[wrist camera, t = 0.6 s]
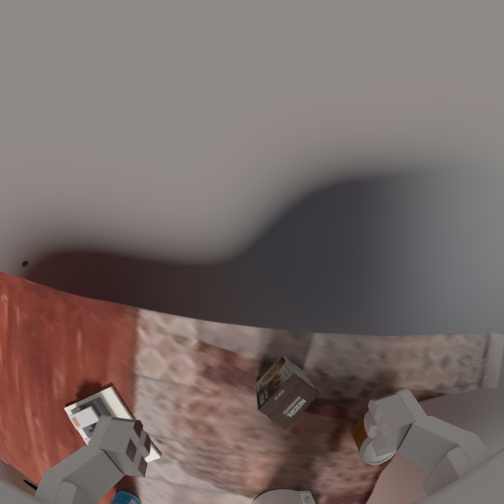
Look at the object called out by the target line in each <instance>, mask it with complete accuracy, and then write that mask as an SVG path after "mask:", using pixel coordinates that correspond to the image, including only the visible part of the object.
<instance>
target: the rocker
mask: <svg viewBox="0 0 504 504" xmlns="http://www.w3.org/2000/svg"><path fill="white" fill-rule="evenodd" d="M69 418H70V420H71V422H72V423H73V425H74V426H75V428H76V429H77V430H79V429H82V428H84V427H86V426H89V425H91V424H93V423H96V422H98V420H99V418H100V417H99V416H98V414H97V413H96V411H95V410H94V408H93V406H90V407H88V408H86V409H84V410H81V411H79V412H77V413H75V414H72V415H70V416H69Z"/></svg>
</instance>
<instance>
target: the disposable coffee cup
mask: <svg viewBox="0 0 504 504" xmlns="http://www.w3.org/2000/svg"><path fill="white" fill-rule="evenodd" d="M352 436H353V438H354V440H355V443H356V445H357V447H358V449H359V452H360V458H361V460H362V461H363V462H365V463H367V464H371V465H377V464H381V463H383V462H385V461H387V460H388V459H390V458H391V457H392V456H393V455H394V454H395V452H396V451H394V452H391V453H388V454H385V455H382V456H379V457H377V456H376V454H375V451H374V449H373V447H372V445H371V444H372V441H373V438H371V437H369V436H367V433H366V431H365V427H364V419H361V420H359V421H358V422H357V423H356V424H355V425H354V426H353V428H352Z"/></svg>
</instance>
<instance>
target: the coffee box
mask: <svg viewBox="0 0 504 504" xmlns="http://www.w3.org/2000/svg"><path fill="white" fill-rule="evenodd" d="M256 393H257V404H258V411H259V412H260V413H262V414H263V415H265V416H266V417H267V418H269V419H270V420H272V421H273V422H274V423H276V424H278V425H279V426H280V427H282V428H283V429H286V428H287V427H288V426H289V425H290V424H291V423H292V422H293V421H294V420H295V419H296V418H297V417H298V416H299V415H300V414H301V413H302V412H303V411H304V410H305V409H306V408H307V407H308V406H309V405H310V404H311V403H312V401H313V400H314V399H315V398H316V397H317V396H318V395H319V393H318V391H317V390H316V389H315V387H314V386H313V384H312V383H311V382H310V380H309V379H308V378H307V376H306V375H305V374H304V372H303V371H302V370H301V369H300V368H299V367H297V366H296V365H295V364H294V363H292V362H291V361H290V360H289V359H287V358H286V357H285V356H284V355H282V356H281V357H280V358H279V359H278V360H277V361H276V362H275V363H274V364H273V365H272V367H271V368H270V369H269V370H268V371H267V372H266V373H265V374H264V375H263V376H262V377H261V378H260V379H259V380H258V381H257V382H256Z"/></svg>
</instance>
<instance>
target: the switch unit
mask: <svg viewBox="0 0 504 504" xmlns="http://www.w3.org/2000/svg"><path fill="white" fill-rule="evenodd" d="M90 406H93V408H94V410H95V411H96V413H97V414H98V416H99V417H101V416H102V415H105V416H112V417H118V418H125V419H133V417H132V416H131V414H130V413H129V411H128V410H127V408H126V407H125V405H124V404H123V402H122V401H121V399H120V397H119V396H118V394H117V393H116V391H115V389H114V388H113V386H111V387H109V388H107V389H105V390H103V391H101V392H99V393H96V394H94V395H92V396H90V397H88V398H86V399H83V400H81V401H79V402H77V403H75V404H72V405H70V406H68V407H66V408H64V409H65V411H66V412H67V414H68V416H70V415H72V414H75V413H77V412H79V411H81V410H84V409H86V408H88V407H90ZM133 420H134V419H133ZM96 424H97V422H96V423H93V424H91V425H89V426H86V427H84V428H82V429H79V430H78V431H79V433H80V434H81V436H82V437H83V438H84V440H85V439H86V438H88V437H91V436H92V434H93V431H94V429H95V427H96ZM159 458H161V455H160V453H159V452H158V451H157V450H156V448H155V447H154V446H153V444H152V443H151V450H150V455H148V456H147V457H146V458H145V460H146V462H149V461H152V460H155V459H159Z"/></svg>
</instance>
